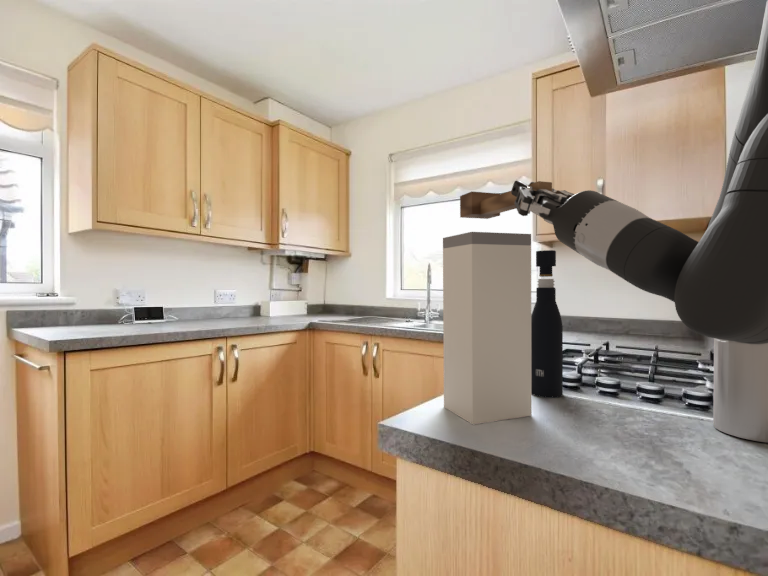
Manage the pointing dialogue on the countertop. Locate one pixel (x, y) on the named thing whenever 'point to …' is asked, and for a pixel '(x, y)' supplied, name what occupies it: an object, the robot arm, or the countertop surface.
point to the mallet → (492, 202)
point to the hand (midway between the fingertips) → (522, 187)
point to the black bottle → (546, 333)
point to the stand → (487, 325)
